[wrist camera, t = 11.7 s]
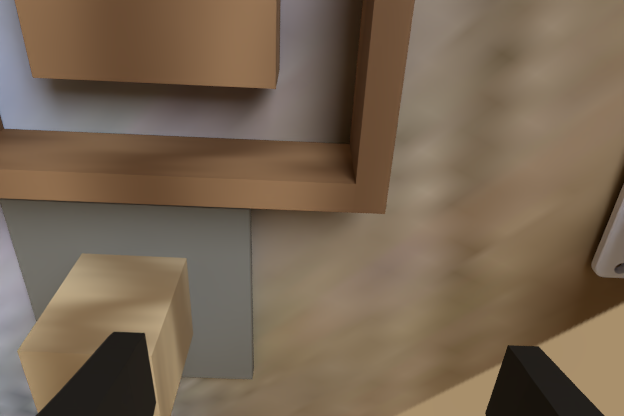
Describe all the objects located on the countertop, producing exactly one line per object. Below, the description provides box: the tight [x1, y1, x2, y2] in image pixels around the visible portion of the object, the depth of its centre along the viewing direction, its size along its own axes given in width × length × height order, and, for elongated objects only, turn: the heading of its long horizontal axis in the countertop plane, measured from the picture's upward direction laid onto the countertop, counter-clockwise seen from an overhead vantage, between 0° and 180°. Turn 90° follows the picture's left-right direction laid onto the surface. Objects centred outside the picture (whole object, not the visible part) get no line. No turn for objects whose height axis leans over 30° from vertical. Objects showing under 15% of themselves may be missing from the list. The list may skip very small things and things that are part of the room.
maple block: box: [17, 253, 193, 416], centre depth 19 cm, size 4×4×5 cm
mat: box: [0, 198, 254, 379], centre depth 21 cm, size 9×9×1 cm
